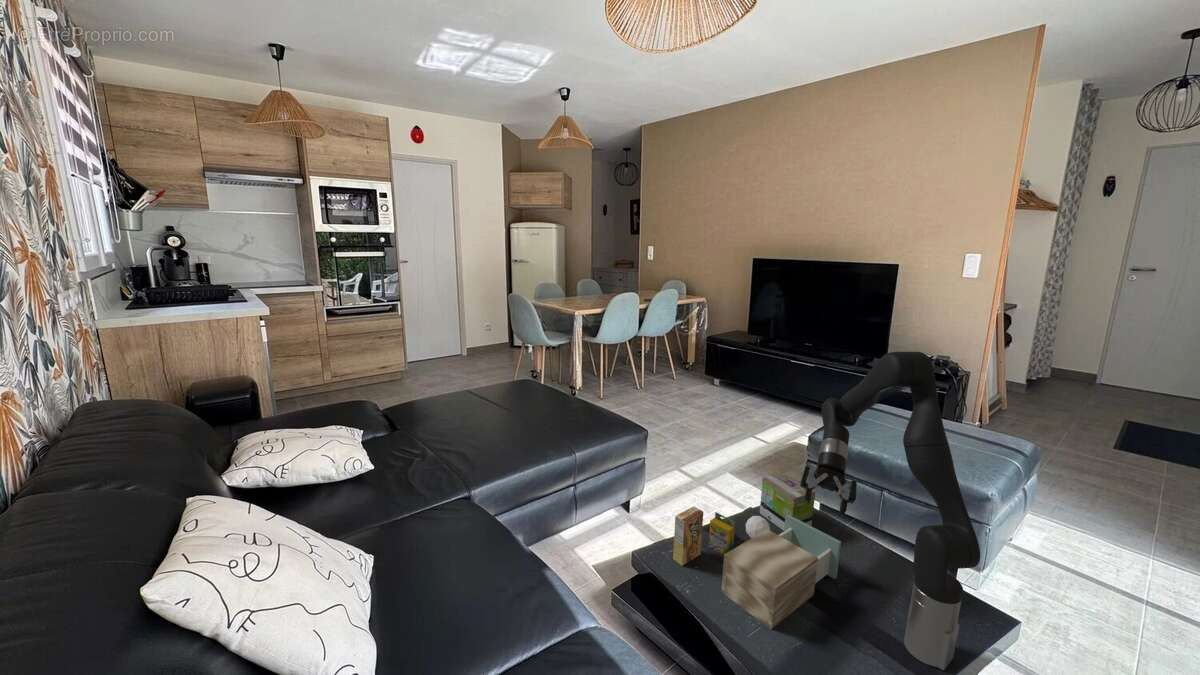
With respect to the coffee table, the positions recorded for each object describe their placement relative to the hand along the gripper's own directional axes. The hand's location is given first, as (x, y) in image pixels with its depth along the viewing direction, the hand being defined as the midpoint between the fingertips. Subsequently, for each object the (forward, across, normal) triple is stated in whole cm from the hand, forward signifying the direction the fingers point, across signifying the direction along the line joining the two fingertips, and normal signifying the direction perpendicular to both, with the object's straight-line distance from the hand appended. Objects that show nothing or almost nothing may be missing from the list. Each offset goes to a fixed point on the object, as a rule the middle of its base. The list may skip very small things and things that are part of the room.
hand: (824, 508), depth 131 cm
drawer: (+15, -4, +19) cm, 25 cm away
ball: (+5, -15, +30) cm, 34 cm away
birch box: (+24, -9, +14) cm, 29 cm away
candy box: (+22, -33, +20) cm, 44 cm away
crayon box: (+15, -24, +24) cm, 37 cm away
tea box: (-7, -7, +38) cm, 39 cm away
